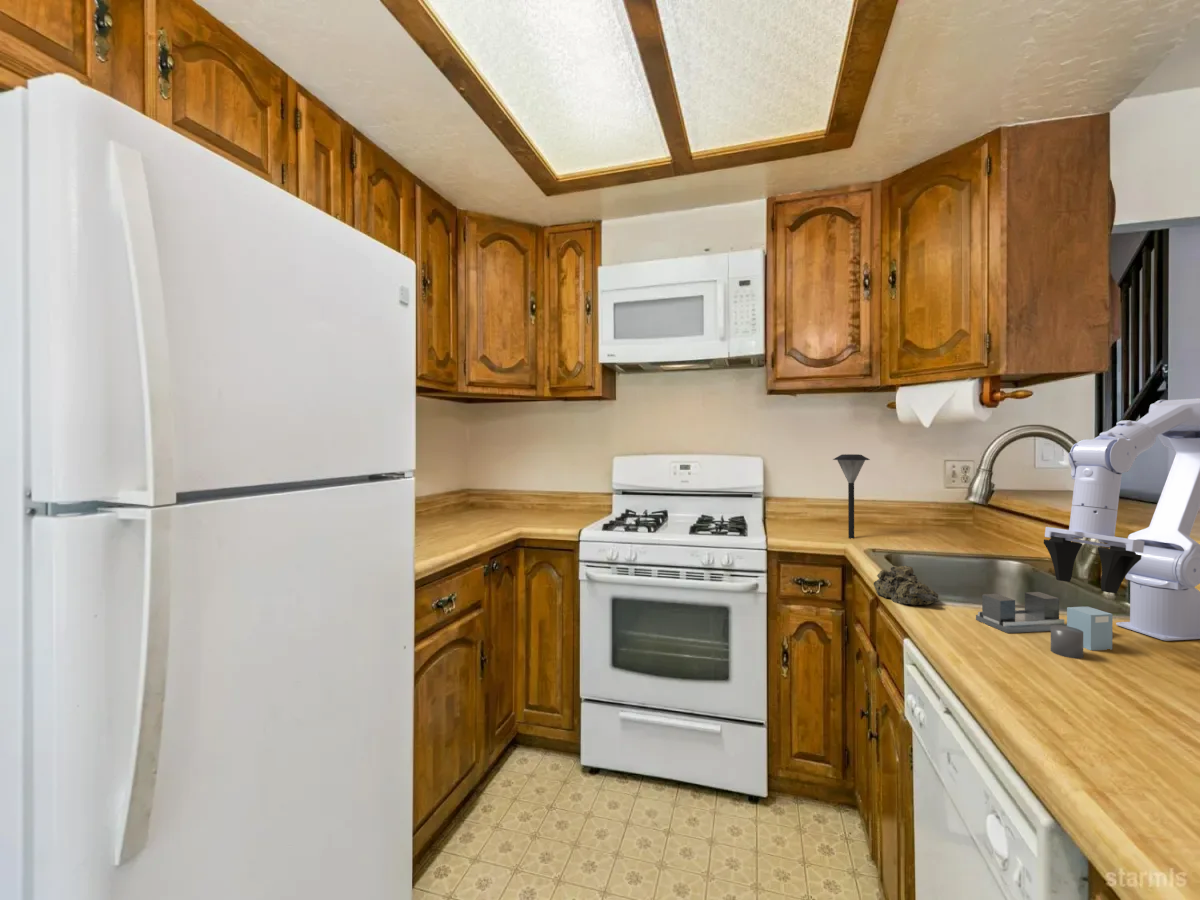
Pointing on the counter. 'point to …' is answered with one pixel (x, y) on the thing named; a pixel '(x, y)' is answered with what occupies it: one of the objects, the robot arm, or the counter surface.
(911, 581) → the rock
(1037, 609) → the rail base
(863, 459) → the solar garden light
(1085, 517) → the robot arm
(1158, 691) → the counter surface
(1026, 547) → the counter surface
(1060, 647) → the grey rounded cylinder
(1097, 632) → the block
